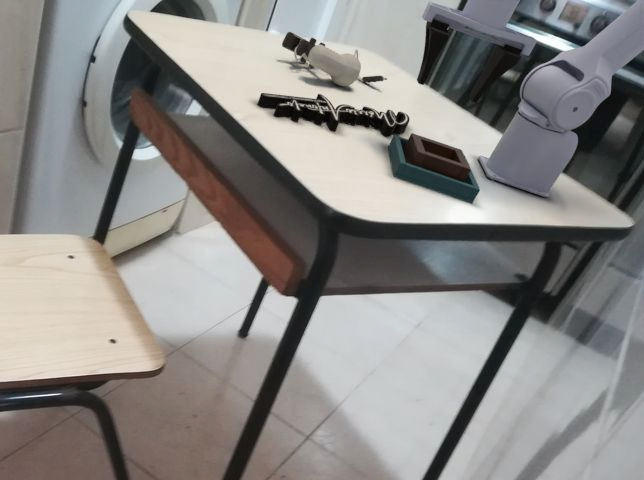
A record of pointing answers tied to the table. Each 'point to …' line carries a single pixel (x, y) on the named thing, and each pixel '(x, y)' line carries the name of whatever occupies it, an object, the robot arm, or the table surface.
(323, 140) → the table surface
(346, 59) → the clip-on lamp
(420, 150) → the frame
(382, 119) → the nameplate
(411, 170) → the holder
